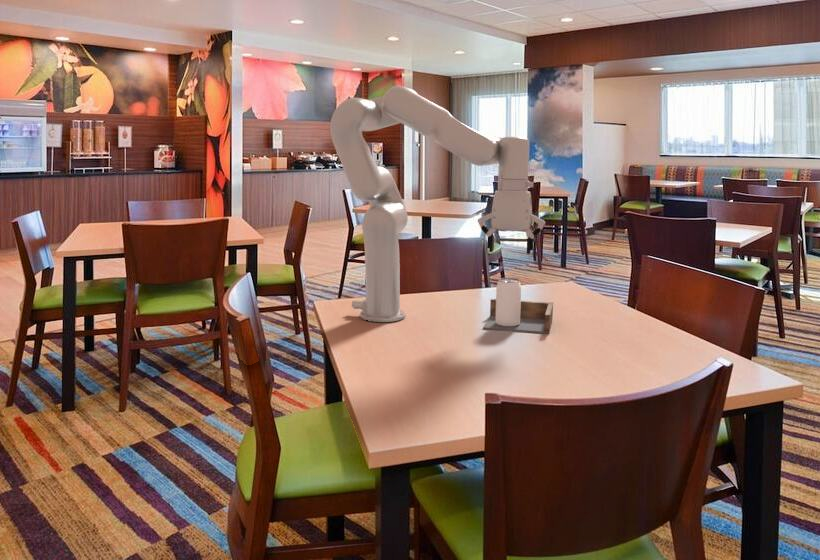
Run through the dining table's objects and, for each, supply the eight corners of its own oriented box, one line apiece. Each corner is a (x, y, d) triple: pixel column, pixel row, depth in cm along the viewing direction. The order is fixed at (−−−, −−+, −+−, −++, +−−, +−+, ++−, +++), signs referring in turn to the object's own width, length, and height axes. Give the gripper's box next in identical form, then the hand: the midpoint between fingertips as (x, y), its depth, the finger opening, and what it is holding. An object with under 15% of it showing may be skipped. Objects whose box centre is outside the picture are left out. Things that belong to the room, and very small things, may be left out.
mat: (482, 329, 175) (483, 327, 175) (490, 316, 188) (490, 314, 188) (549, 333, 170) (549, 331, 170) (552, 320, 184) (552, 318, 184)
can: (494, 326, 175) (495, 281, 173) (496, 320, 182) (497, 277, 179) (519, 327, 174) (520, 282, 172) (520, 321, 180) (521, 278, 178)
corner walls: (482, 329, 175) (483, 310, 174) (490, 316, 188) (491, 298, 187) (549, 333, 170) (550, 314, 169) (552, 320, 184) (553, 302, 183)
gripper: (548, 186, 172) (544, 251, 176) (481, 184, 176) (479, 248, 180) (546, 187, 165) (542, 256, 168) (476, 185, 169) (474, 252, 173)
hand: (509, 252), depth 174 cm, fingers open, 9 cm apart
